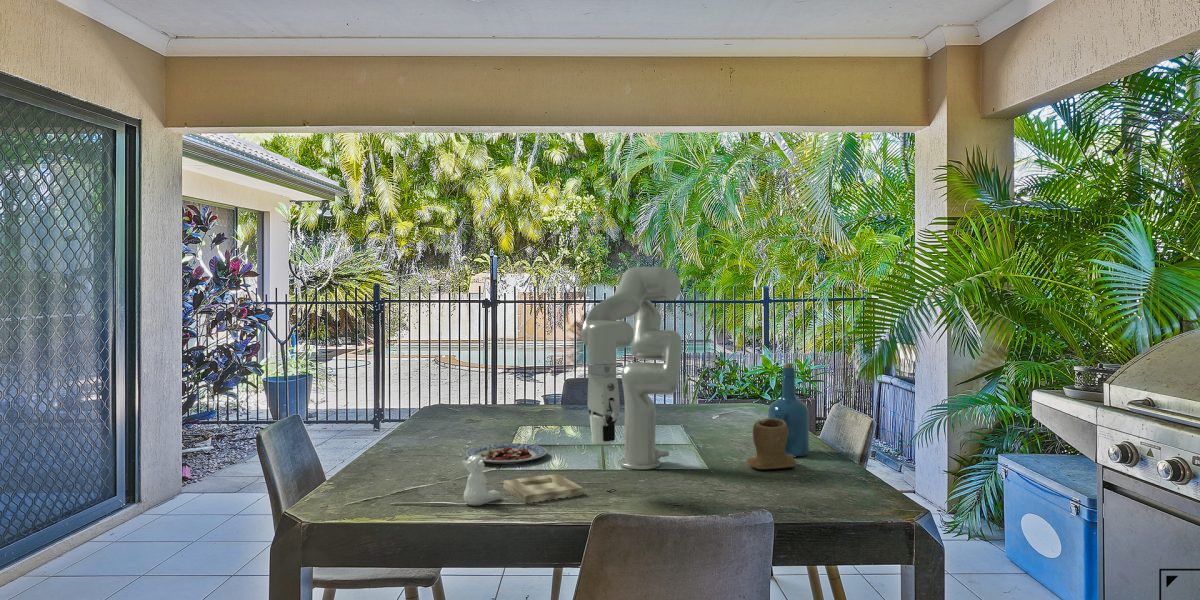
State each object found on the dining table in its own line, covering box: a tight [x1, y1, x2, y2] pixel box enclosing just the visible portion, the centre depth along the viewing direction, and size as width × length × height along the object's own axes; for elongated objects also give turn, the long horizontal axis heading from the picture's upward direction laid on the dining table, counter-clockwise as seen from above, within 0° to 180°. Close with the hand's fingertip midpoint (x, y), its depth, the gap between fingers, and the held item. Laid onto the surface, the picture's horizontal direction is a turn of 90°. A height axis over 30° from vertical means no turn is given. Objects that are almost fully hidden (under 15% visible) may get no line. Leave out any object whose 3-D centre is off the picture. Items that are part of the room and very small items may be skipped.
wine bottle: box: [767, 362, 810, 458], centre depth 226 cm, size 14×13×30 cm
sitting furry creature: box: [461, 455, 502, 506], centre depth 171 cm, size 10×9×12 cm
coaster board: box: [502, 473, 584, 505], centre depth 180 cm, size 16×16×2 cm
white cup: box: [589, 413, 614, 445], centre depth 179 cm, size 7×7×7 cm
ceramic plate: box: [465, 442, 548, 465], centre depth 219 cm, size 26×26×3 cm
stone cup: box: [746, 417, 798, 470], centre depth 206 cm, size 15×12×15 cm
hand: (602, 437), depth 179 cm, fingers closed on white cup, 6 cm apart
